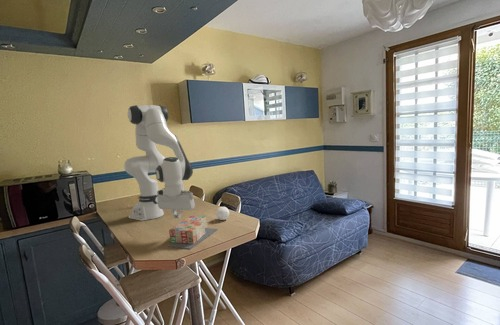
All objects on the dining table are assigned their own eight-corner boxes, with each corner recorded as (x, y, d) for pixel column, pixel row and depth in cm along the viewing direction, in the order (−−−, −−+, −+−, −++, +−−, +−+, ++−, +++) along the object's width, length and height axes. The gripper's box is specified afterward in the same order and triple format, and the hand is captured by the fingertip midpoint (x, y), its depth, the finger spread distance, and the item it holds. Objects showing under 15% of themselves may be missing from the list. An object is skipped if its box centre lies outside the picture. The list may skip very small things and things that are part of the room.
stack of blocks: (190, 215, 144) (211, 215, 141) (191, 226, 145) (212, 227, 142) (168, 230, 124) (192, 230, 121) (170, 243, 125) (194, 244, 121)
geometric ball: (222, 223, 157) (224, 210, 161) (231, 220, 152) (232, 207, 156) (212, 219, 152) (213, 206, 157) (221, 216, 147) (222, 203, 151)
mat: (168, 246, 122) (168, 245, 122) (198, 227, 144) (198, 227, 144) (190, 249, 117) (190, 248, 117) (217, 229, 139) (217, 228, 139)
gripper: (196, 189, 130) (198, 216, 131) (162, 188, 138) (165, 214, 140) (188, 192, 124) (191, 221, 126) (154, 191, 132) (157, 218, 134)
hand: (177, 217), depth 133 cm, fingers closed
